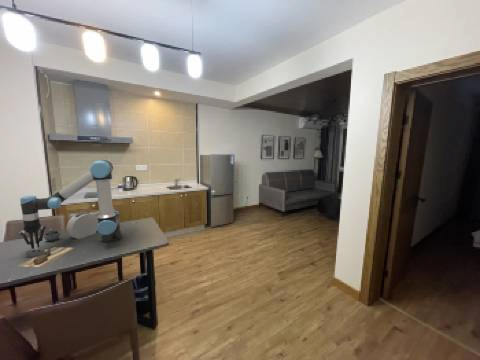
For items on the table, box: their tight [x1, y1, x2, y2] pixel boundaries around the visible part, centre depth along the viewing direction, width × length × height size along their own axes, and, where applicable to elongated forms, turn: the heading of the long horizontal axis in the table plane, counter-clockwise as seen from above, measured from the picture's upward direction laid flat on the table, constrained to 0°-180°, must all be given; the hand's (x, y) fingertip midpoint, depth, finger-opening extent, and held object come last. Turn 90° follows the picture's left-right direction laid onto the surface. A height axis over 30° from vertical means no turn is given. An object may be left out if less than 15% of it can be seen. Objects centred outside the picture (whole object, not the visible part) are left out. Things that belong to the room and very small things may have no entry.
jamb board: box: [18, 246, 76, 268], centre depth 138 cm, size 16×25×5 cm, turn 179°
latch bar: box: [25, 248, 51, 258], centre depth 138 cm, size 13×4×4 cm, turn 97°
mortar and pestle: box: [43, 228, 61, 243], centre depth 161 cm, size 11×9×12 cm
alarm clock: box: [65, 211, 98, 240], centre depth 173 cm, size 21×8×20 cm, turn 159°
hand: (36, 252), depth 141 cm, fingers closed
